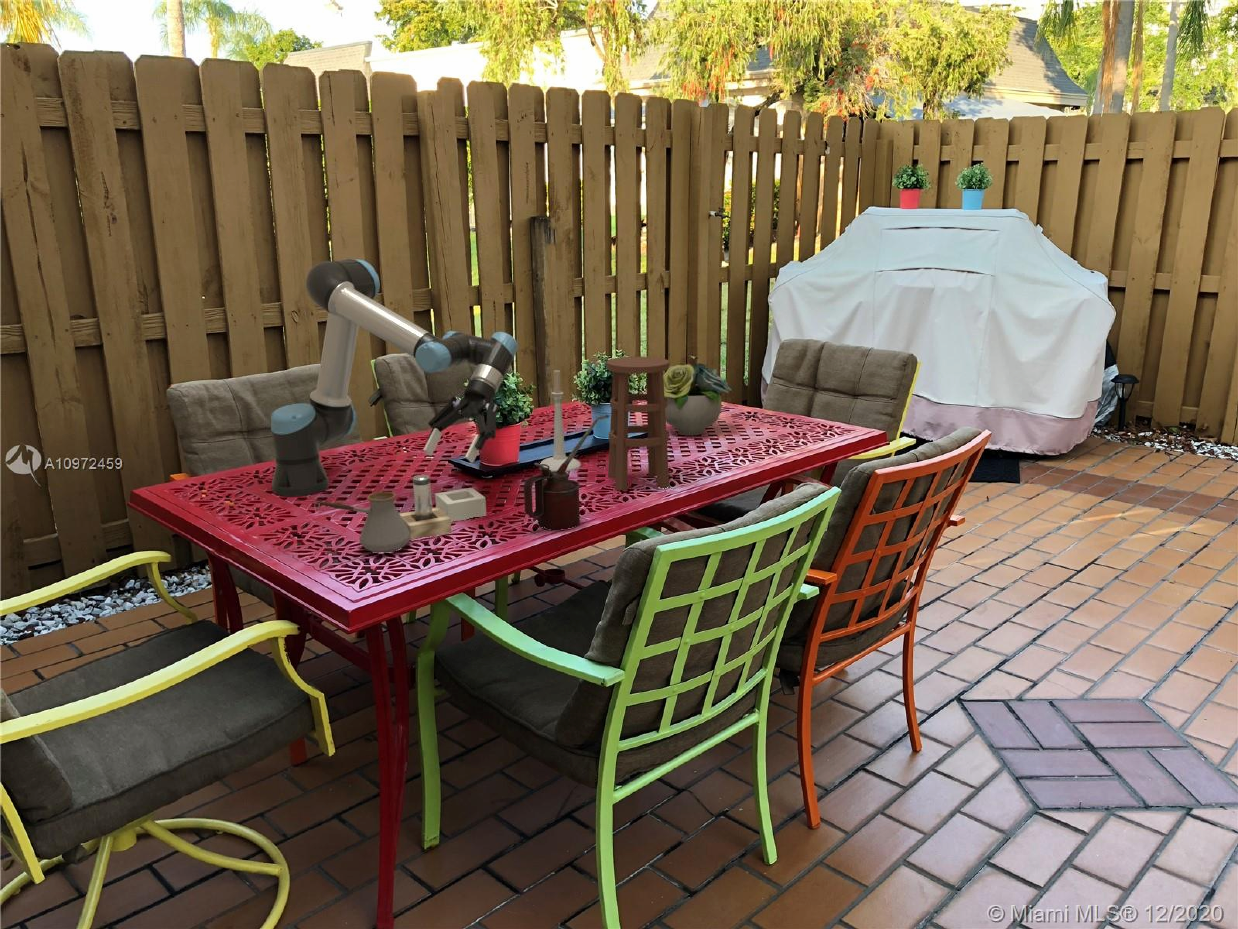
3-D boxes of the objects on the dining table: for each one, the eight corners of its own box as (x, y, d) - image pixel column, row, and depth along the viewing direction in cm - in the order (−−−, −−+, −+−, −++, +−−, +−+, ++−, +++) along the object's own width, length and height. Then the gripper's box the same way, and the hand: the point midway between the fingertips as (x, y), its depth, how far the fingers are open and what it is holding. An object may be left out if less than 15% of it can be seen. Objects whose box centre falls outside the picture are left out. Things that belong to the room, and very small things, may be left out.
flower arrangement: (688, 421, 325) (689, 355, 318) (740, 433, 307) (742, 363, 300) (639, 432, 309) (639, 363, 302) (692, 446, 291) (693, 372, 284)
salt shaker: (419, 536, 213) (415, 480, 209) (414, 530, 216) (410, 476, 212) (435, 532, 215) (432, 478, 211) (430, 527, 218) (426, 473, 214)
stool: (647, 370, 229) (588, 363, 240) (647, 497, 239) (590, 485, 250) (686, 359, 245) (628, 353, 256) (685, 480, 255) (629, 469, 265)
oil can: (544, 539, 210) (540, 437, 203) (515, 528, 217) (510, 430, 210) (625, 510, 229) (624, 417, 222) (596, 501, 237) (594, 410, 230)
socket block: (411, 542, 209) (409, 526, 208) (399, 529, 217) (398, 514, 216) (451, 534, 213) (450, 518, 212) (438, 522, 222) (437, 507, 221)
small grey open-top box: (448, 523, 221) (447, 504, 220) (436, 511, 230) (435, 493, 228) (486, 516, 226) (485, 497, 224) (472, 505, 234) (471, 487, 233)
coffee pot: (397, 535, 213) (392, 476, 209) (420, 549, 205) (415, 487, 200) (311, 558, 200) (303, 495, 195) (332, 573, 191) (325, 508, 187)
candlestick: (534, 462, 273) (531, 366, 265) (574, 458, 277) (572, 364, 269) (544, 474, 262) (540, 374, 253) (585, 469, 265) (583, 371, 257)
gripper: (528, 399, 224) (494, 470, 215) (453, 390, 236) (418, 457, 228) (515, 382, 218) (479, 454, 210) (438, 373, 230) (402, 442, 222)
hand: (447, 456), depth 219 cm, fingers open, 13 cm apart
